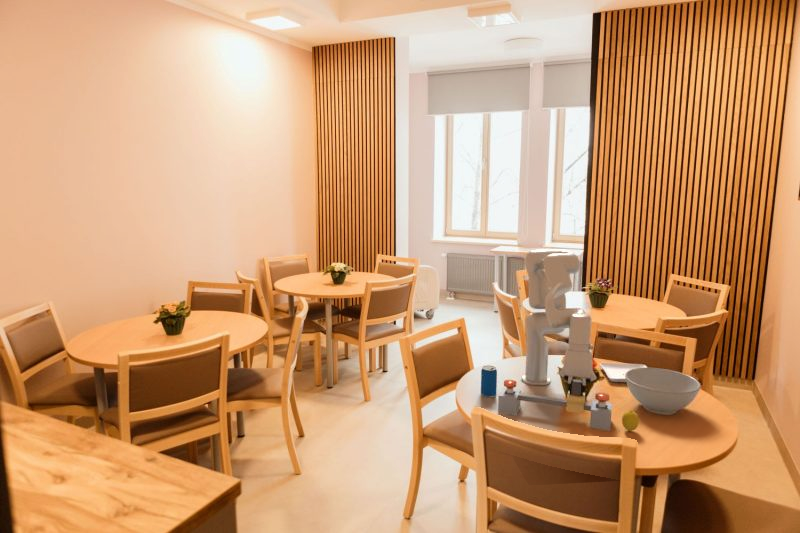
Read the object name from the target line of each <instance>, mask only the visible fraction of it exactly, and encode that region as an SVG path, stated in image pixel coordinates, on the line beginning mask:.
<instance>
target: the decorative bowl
mask: <svg viewBox="0 0 800 533" xmlns="http://www.w3.org/2000/svg"><path fill="white" fill-rule="evenodd" d="M625 378H626V382H627V383H626V385H627V387H628V390H629V392H630V394H631V395H632V396H633V397H634V398H635V400H636V401H638V402H639V404H641V405H642V407H643V408H644V409H645V410H647V411H648V412H650V413H654V414H658V415H665V416H667V415H668V416H669V415H675V414H676V413H677V411H680V410H683V409H685V408H687V407H688V406H689V405H690V404H691V403H692V402H694V400H695V399H696V397H698V395H699V392H700V390H701V382H699V381H698V380H697V379H696V378H694V377H692V376H691V375H688V374H686V373H683V372H680V371H675V370H671V369H666V368H665V369H664V368H657V367H647V368H636V369H632V370H629V371H628V372H626V374H625Z"/></svg>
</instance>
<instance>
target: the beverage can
mask: <svg viewBox="0 0 800 533" xmlns="http://www.w3.org/2000/svg"><path fill="white" fill-rule="evenodd" d="M497 370H498V369H497V368H496V366H493V365H484V366H482V367H481V371H480V372H481V374H480V394H481V395H482V396H483V397H485V398H493V397H495V396H497V387H498V386H497V385H498V384H497V382H498V371H497Z"/></svg>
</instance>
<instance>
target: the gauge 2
mask: <svg viewBox="0 0 800 533" xmlns="http://www.w3.org/2000/svg"><path fill="white" fill-rule="evenodd" d="M594 396H595V397H594V398H595V400H596V401H598V408H601V409H605V405H606V402H609V401H610V395H609V394H608V393H605V392H596V393H595V395H594Z"/></svg>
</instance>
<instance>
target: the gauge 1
mask: <svg viewBox="0 0 800 533" xmlns="http://www.w3.org/2000/svg"><path fill="white" fill-rule="evenodd" d="M503 387H505V388H507V392H506V394H509V395H513V389H515V388H516V387H517V381H516V380H513V379H505V380H503Z"/></svg>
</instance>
